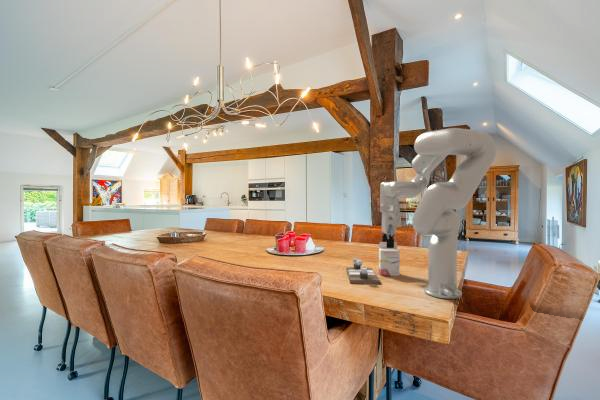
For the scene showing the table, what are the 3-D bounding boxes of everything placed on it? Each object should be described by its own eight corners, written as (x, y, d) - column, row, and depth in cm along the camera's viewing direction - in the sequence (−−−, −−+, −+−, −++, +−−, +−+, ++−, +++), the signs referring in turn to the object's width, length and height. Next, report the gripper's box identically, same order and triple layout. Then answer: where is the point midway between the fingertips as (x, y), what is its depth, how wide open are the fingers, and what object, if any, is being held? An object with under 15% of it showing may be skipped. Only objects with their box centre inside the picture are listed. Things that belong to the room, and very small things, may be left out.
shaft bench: (379, 283, 120) (379, 269, 120) (350, 283, 121) (349, 269, 121) (371, 270, 141) (371, 258, 141) (346, 270, 142) (346, 258, 142)
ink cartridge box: (380, 275, 132) (380, 243, 132) (378, 273, 137) (378, 241, 137) (400, 276, 131) (399, 243, 131) (397, 273, 136) (397, 241, 136)
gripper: (401, 210, 125) (401, 249, 125) (392, 207, 142) (391, 242, 143) (383, 210, 125) (383, 249, 126) (376, 207, 143) (376, 242, 143)
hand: (387, 245), depth 134 cm, fingers open, 9 cm apart
